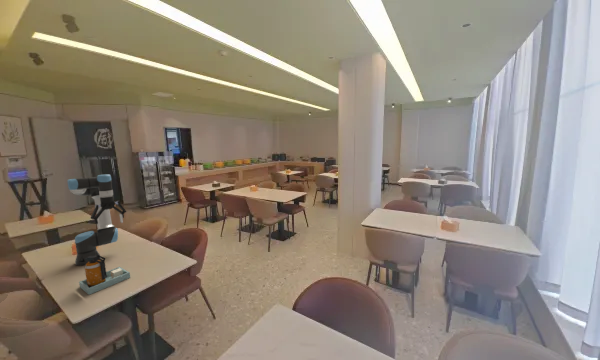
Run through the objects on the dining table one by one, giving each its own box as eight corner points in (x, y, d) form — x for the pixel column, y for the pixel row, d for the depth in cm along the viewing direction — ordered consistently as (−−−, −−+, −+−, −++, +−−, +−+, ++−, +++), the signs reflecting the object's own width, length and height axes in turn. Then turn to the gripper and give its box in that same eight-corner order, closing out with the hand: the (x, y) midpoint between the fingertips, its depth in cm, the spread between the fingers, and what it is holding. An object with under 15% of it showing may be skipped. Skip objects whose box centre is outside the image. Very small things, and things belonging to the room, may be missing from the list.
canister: (95, 281, 155) (90, 253, 152) (112, 280, 156) (108, 252, 153) (83, 289, 146) (79, 259, 143) (102, 288, 147) (98, 258, 144)
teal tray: (80, 288, 149) (78, 281, 149) (120, 272, 168) (119, 266, 167) (89, 295, 141) (88, 289, 140) (130, 278, 159) (129, 272, 159)
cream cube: (111, 278, 159) (110, 271, 158) (120, 274, 163) (119, 268, 162) (114, 280, 156) (113, 273, 155) (123, 276, 160) (122, 269, 160)
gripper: (85, 200, 152) (90, 231, 155) (129, 193, 173) (132, 221, 175) (81, 199, 156) (86, 229, 159) (124, 192, 177) (128, 219, 179)
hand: (110, 225), depth 167 cm, fingers open, 13 cm apart
